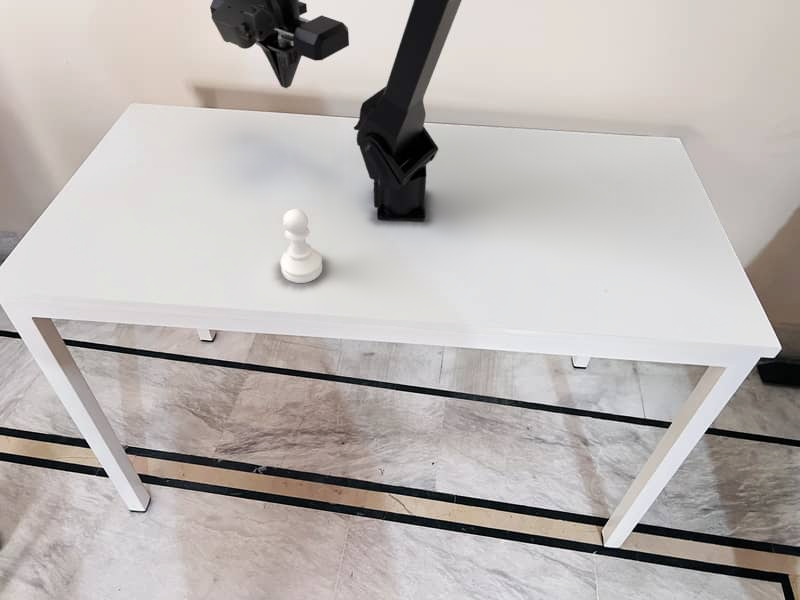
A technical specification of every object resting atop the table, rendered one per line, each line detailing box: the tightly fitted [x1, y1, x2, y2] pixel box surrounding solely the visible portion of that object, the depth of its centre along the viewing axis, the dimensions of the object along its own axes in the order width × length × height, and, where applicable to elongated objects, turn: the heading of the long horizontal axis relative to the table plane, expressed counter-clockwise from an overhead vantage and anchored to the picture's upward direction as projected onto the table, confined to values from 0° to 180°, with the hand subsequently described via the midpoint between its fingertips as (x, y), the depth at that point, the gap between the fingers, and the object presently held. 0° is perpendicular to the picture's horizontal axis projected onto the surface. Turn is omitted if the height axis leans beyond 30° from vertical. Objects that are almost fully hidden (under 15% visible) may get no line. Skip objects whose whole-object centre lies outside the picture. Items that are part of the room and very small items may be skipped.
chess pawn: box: [280, 208, 324, 284], centre depth 72 cm, size 5×5×9 cm
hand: (286, 86), depth 82 cm, fingers closed
